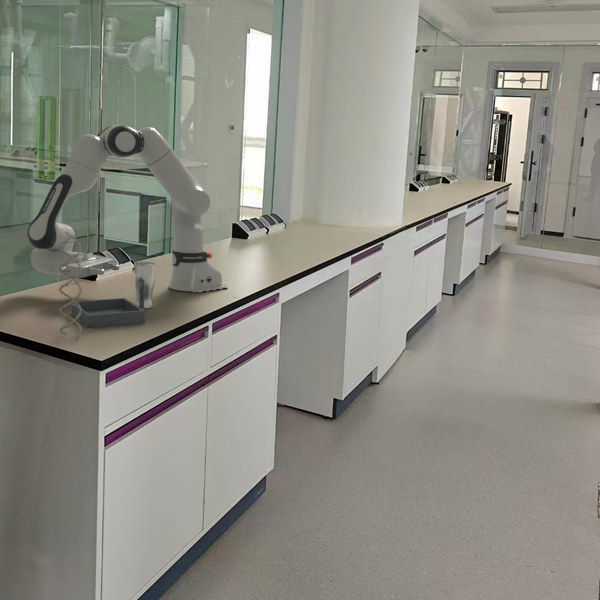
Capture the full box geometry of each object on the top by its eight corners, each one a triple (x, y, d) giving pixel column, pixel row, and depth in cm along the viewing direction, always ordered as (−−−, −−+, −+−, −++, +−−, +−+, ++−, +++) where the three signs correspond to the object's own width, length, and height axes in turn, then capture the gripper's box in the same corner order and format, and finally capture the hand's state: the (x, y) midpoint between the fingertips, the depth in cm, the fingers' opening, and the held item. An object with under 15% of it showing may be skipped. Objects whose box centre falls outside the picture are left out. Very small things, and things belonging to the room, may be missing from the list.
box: (124, 309, 241) (124, 297, 240) (144, 323, 227) (144, 310, 226) (70, 314, 231) (70, 301, 230) (88, 328, 217) (88, 315, 216)
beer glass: (132, 304, 248) (132, 261, 244) (152, 304, 250) (153, 261, 247) (134, 309, 241) (135, 265, 238) (156, 309, 244) (156, 265, 240)
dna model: (54, 336, 207) (53, 232, 200) (75, 333, 212) (74, 231, 205) (65, 342, 203) (64, 235, 196) (86, 339, 207) (86, 234, 200)
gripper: (56, 260, 239) (93, 265, 236) (91, 251, 259) (126, 256, 255) (56, 278, 241) (93, 284, 237) (91, 269, 260) (125, 274, 256)
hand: (110, 270), depth 246 cm, fingers open, 8 cm apart
